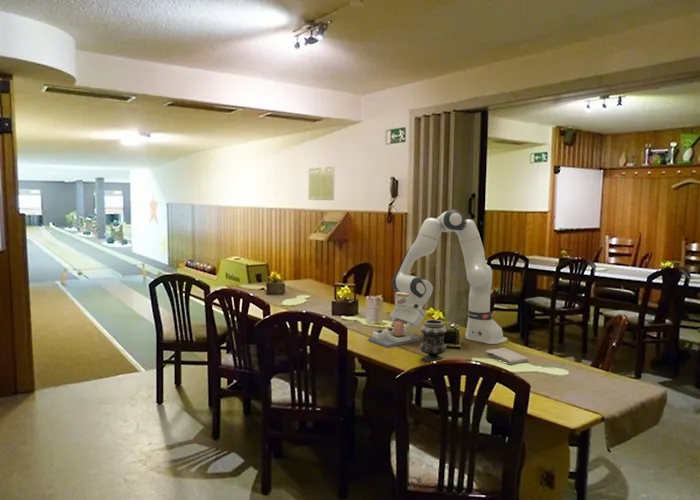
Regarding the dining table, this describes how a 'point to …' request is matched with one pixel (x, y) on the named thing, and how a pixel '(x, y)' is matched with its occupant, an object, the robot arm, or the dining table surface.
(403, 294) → the candy bar box
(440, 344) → the apothecary jar
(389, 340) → the board
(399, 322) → the lockout cap
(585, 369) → the dining table surface
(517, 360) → the washcloth
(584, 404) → the dining table surface
